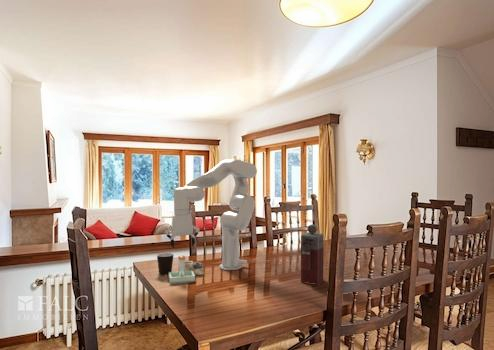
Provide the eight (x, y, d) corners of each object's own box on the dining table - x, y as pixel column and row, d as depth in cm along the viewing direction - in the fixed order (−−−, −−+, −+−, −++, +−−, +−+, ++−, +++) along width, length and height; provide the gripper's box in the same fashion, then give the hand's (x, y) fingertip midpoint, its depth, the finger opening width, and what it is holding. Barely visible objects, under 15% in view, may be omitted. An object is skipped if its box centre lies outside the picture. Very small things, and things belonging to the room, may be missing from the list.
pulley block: (201, 270, 183) (201, 259, 183) (203, 274, 176) (203, 263, 176) (180, 272, 180) (180, 261, 180) (182, 276, 173) (182, 264, 173)
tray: (192, 276, 173) (192, 270, 173) (194, 281, 164) (195, 275, 164) (168, 278, 170) (168, 272, 170) (169, 284, 160) (169, 277, 160)
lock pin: (184, 277, 169) (184, 255, 169) (185, 279, 166) (185, 256, 166) (177, 277, 168) (177, 255, 168) (178, 279, 165) (178, 257, 165)
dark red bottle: (298, 283, 162) (299, 225, 162) (306, 277, 172) (306, 222, 172) (317, 286, 158) (317, 227, 158) (323, 280, 167) (323, 224, 167)
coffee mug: (169, 276, 173) (169, 257, 173) (153, 275, 174) (154, 256, 174) (178, 270, 184) (178, 251, 184) (163, 269, 186) (163, 251, 186)
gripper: (198, 210, 173) (199, 243, 173) (163, 212, 168) (164, 246, 168) (200, 212, 166) (201, 246, 166) (164, 214, 161) (165, 249, 161)
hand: (182, 246), depth 167 cm, fingers open, 9 cm apart
